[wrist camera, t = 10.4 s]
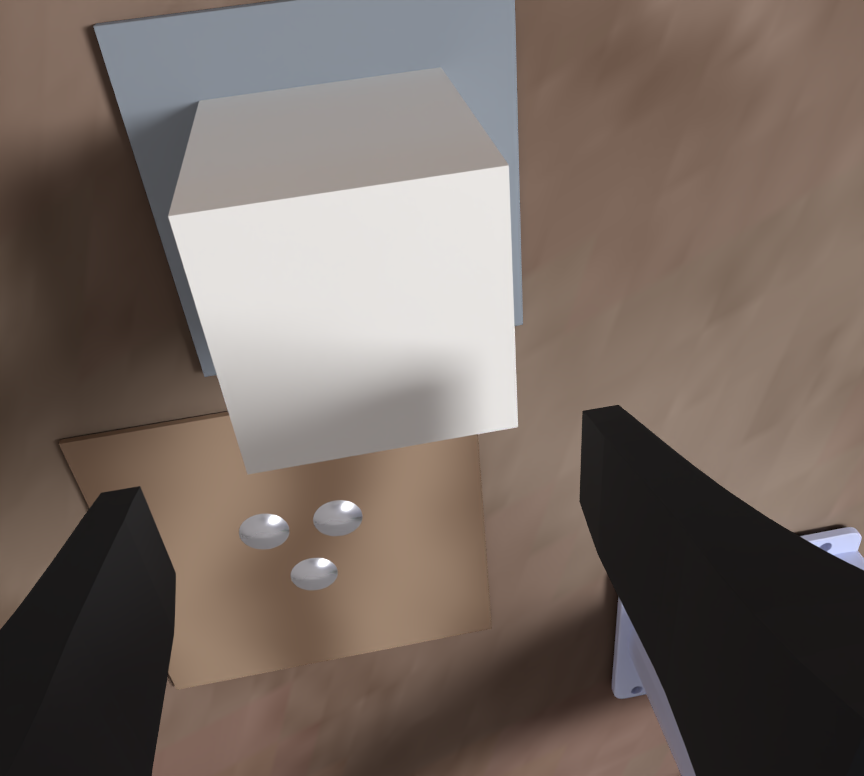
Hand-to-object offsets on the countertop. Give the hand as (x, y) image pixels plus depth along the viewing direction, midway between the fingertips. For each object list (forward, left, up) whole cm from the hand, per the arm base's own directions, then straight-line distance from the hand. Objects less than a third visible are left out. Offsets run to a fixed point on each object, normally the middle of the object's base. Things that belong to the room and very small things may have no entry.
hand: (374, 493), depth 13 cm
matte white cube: (0, -1, -9) cm, 9 cm away
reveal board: (+3, +11, -9) cm, 14 cm away
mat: (0, -1, -9) cm, 10 cm away
